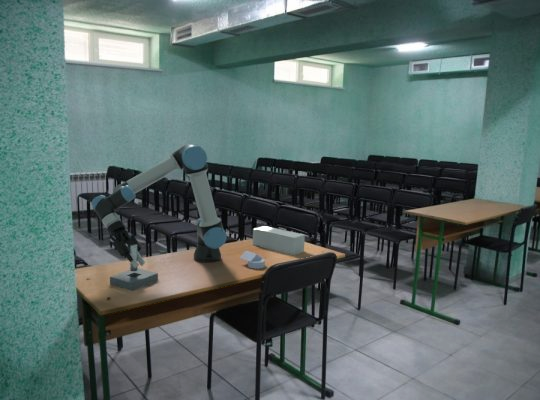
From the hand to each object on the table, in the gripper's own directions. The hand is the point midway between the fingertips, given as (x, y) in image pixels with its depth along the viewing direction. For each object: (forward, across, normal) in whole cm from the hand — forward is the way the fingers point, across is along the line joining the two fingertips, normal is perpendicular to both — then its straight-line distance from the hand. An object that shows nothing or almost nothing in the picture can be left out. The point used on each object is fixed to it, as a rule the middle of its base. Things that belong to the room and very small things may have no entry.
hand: (140, 265), depth 198 cm
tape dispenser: (+26, -54, +14) cm, 62 cm away
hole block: (+4, 0, -9) cm, 10 cm away
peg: (-1, 0, -5) cm, 5 cm away
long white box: (+23, -91, +10) cm, 95 cm away
